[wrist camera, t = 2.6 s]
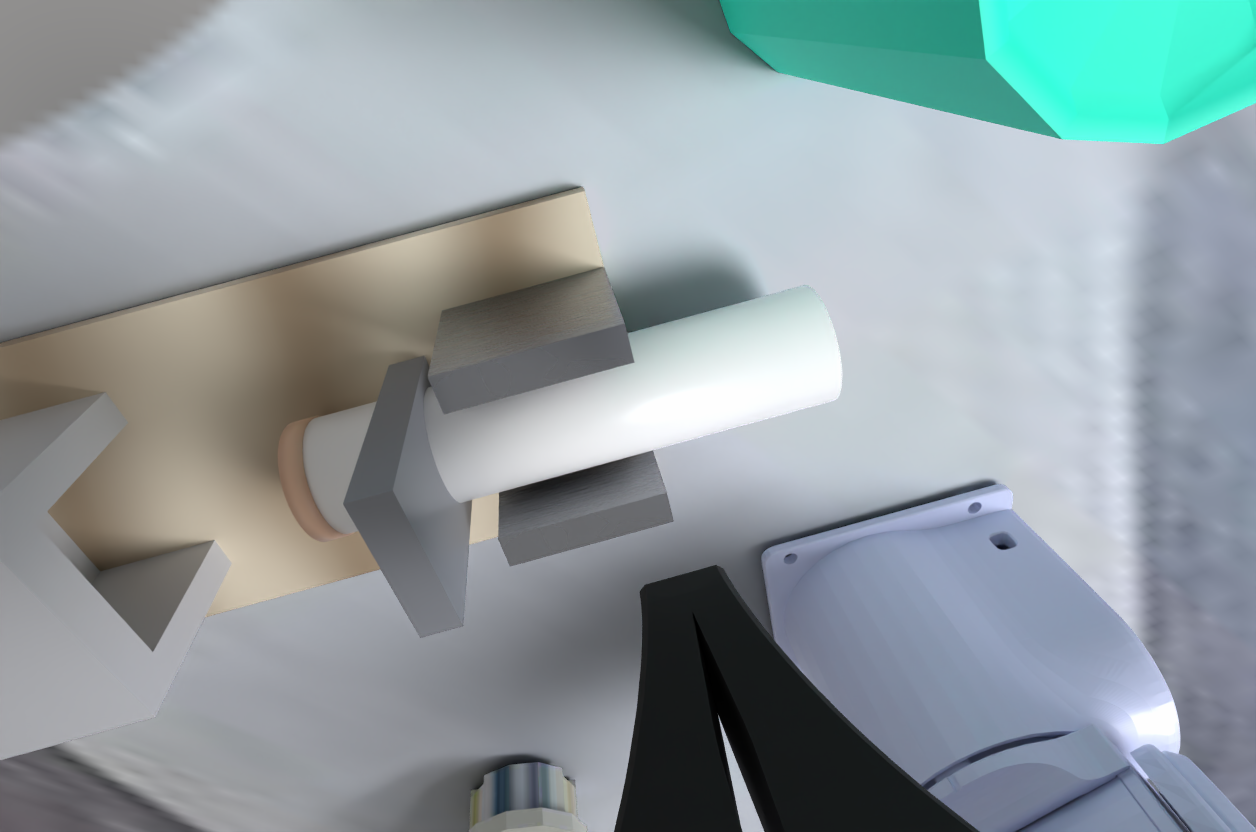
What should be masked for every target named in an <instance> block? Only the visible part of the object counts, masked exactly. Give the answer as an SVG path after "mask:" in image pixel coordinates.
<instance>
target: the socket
mask: <svg viewBox="0 0 1256 832" xmlns="http://www.w3.org/2000/svg"><path fill="white" fill-rule="evenodd" d="M127 424H128V422H127V420H126V419H125V418H124V416H123V415H122V414H121V412H120V411H119V410H118V408H117V407H116V405H115V404H114V403H113V401H112V400H111V399H110V397H109V396H108V395H107V393H106V392H103V393H100V394H96V395H92V396H89V397H85V398H81V399H77V400H74V401H70V402H66V403H63V404H59V405H55V406H51V407H48V408H44V409H40V410H37V411H33V412H29V413H26V414H22V415H18V416H14V417H11V418H7V419H3V420H0V760H3V759H6V758H10V757H14V756H17V755H21V754H25V753H28V752H32V751H35V750H39V749H43V748H46V747H50V746H53V745H57V744H61V743H64V742H68V741H72V740H75V739H79V738H82V737H86V736H90V735H93V734H97V733H101V732H104V731H108V730H111V729H115V728H119V727H122V726H126V725H129V724H133V723H137V722H140V721H144V720H148V719H151V718H155V717H156V715H157V713H158V711H159V709H160V707H161V705H162V703H163V701H164V699H165V697H166V695H167V693H168V691H169V689H170V687H171V685H172V683H173V681H174V679H175V677H176V675H177V673H178V671H179V669H180V667H181V665H182V663H183V661H184V659H185V657H186V655H187V653H188V651H189V649H190V647H191V644H192V642H193V640H194V638H195V636H196V634H197V632H198V630H199V628H200V626H201V624H202V622H203V620H204V618H205V616H206V614H207V612H208V610H209V608H210V606H211V604H212V602H213V600H214V598H215V596H216V594H217V592H218V590H219V588H220V586H221V584H222V582H223V580H224V578H225V576H226V574H227V572H228V570H229V568H230V566H231V564H232V563H231V561H230V560H229V559H228V557H227V556H226V555H225V553H224V552H223V551H222V549H221V548H220V546H219V545H218V544H217V542H216V541H215V540H213V541H210V542H206V543H202V544H199V545H195V546H191V547H188V548H184V549H180V550H177V551H173V552H169V553H166V554H162V555H158V556H155V557H151V558H147V559H144V560H140V561H136V562H133V563H129V564H125V565H122V566H118V567H114V568H111V569H107V570H103V571H99V570H98V568H97V567H96V566H95V565H94V564H93V563H92V562H91V561H90V559H89V558H88V557H87V556H86V555H85V554H84V553H83V552H82V550H81V549H80V548H79V547H78V546H77V545H76V544H75V543H74V541H73V540H72V539H71V538H70V537H69V536H68V535H67V534H66V532H65V531H64V530H63V529H62V528H61V527H60V526H59V524H58V523H57V522H56V521H55V520H54V519H53V518H52V517H51V515H50V514H49V513H48V512H47V511H48V510H49V509H50V508H51V507H52V506H53V505H54V503H55V502H56V501H57V500H58V499H59V498H60V497H61V496H62V495H63V494H64V493H65V491H66V490H67V489H68V488H69V487H70V486H71V485H72V484H73V483H74V482H75V480H76V479H77V478H78V477H79V476H80V475H81V474H82V473H83V472H84V471H85V470H86V468H87V467H88V466H89V465H90V464H91V463H92V462H93V461H94V460H95V459H96V458H97V456H98V455H99V454H100V453H101V452H102V451H103V450H104V449H105V448H106V447H107V445H108V444H109V443H110V442H111V441H112V440H113V439H114V438H115V437H116V436H117V435H118V433H119V432H120V431H121V430H122V429H123V428H124V427H125V426H126V425H127Z"/></svg>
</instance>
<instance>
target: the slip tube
mask: <svg viewBox="0 0 1256 832" xmlns="http://www.w3.org/2000/svg"><path fill="white" fill-rule="evenodd" d="M627 334H628V338H629V342H630V346H631V350H632V354H633V358H634V362H635V363H631V364H627V365H624V366H620V367H616V368H613V369H609V370H605V371H602V372H598V373H594V374H591V375H587V376H583V377H580V378H576V379H572V380H569V381H565V382H561V383H558V384H554V385H550V386H547V387H543V388H539V389H536V390H532V391H528V392H525V393H521V394H517V395H513V396H510V397H506V398H502V399H499V400H495V401H491V402H488V403H484V404H480V405H477V406H473V407H469V408H466V409H462V410H458V411H455V412H451V413H447V414H443V411H442V409H441V407H440V405H439V402H438V400H437V398H436V395H435V393H434V391H433V388H432V386H431V384H430V382H429V379H428V372H429V368H430V367H429V364H428V362H427V360H426V357H425V356H421V357H417V358H414V359H410V360H406V361H403V362H399V363H395V364H391V365H389V366H388V369H387V372H386V375H385V378H384V381H383V384H382V387H381V390H380V394H379V397H378V400H377V401H376V402H372V403H369V404H365V405H361V406H358V407H354V408H350V409H347V410H343V411H339V412H336V413H332V414H328V415H324V416H313V417H310V418H306V419H302V420H299V421H295V422H292V423H290V424H288V425H287V426H286V427H285V428H284V430H283V432H282V434H281V436H280V440H279V445H278V469H279V476H280V481H281V485H282V489H283V492H284V495H285V498H286V501H287V503H288V506H289V508H290V510H291V512H292V514H293V516H294V517H295V519H296V521H297V522H298V524H299V525H300V527H301V528H302V529H303V530H304V531H305V532H306V533H307V534H308V535H309V536H310V537H312V538H313V539H315V540H317V541H320V542H327V541H331V540H335V539H338V538H342V537H346V536H349V535H352V534H353V533H354V532H357V531H359V533H360V535H361V536H362V538H363V540H364V541H365V543H366V545H367V547H368V548H369V550H370V552H371V553H372V555H373V557H374V559H375V560H376V562H377V564H378V566H379V567H380V569H381V571H382V572H383V574H384V576H385V578H386V579H387V581H388V583H389V585H390V586H391V588H392V590H393V591H394V593H395V595H396V597H397V598H398V600H399V602H400V604H401V605H402V607H403V609H404V610H405V612H406V614H407V616H408V617H409V619H410V621H411V622H412V624H413V626H414V628H415V629H416V631H417V633H418V635H419V636H420V638H421V637H425V636H429V635H432V634H436V633H440V632H443V631H447V630H450V629H454V628H458V627H461V626H463V623H464V609H465V595H466V581H467V567H468V553H469V539H470V525H471V511H472V500H474V499H477V498H481V497H484V496H488V495H492V494H495V493H499V492H503V491H506V490H510V489H514V488H517V487H521V486H525V485H528V484H532V483H536V482H539V481H543V480H547V479H550V478H554V477H557V476H561V475H565V474H568V473H572V472H576V471H579V470H583V469H587V468H590V467H594V466H598V465H601V464H605V463H609V462H612V461H616V460H620V459H623V458H627V457H630V456H634V455H638V454H641V453H645V452H649V451H652V450H656V449H660V448H663V447H667V446H671V445H674V444H678V443H682V442H685V441H689V440H693V439H696V438H700V437H703V436H707V435H711V434H714V433H718V432H722V431H725V430H729V429H733V428H736V427H740V426H744V425H747V424H751V423H755V422H758V421H762V420H766V419H769V418H773V417H776V416H780V415H784V414H787V413H791V412H795V411H798V410H802V409H806V408H809V407H813V406H817V405H820V404H824V403H828V402H831V401H835V400H836V399H837V398H838V397H839V395H840V392H841V387H842V364H841V357H840V351H839V346H838V342H837V338H836V334H835V331H834V328H833V325H832V322H831V319H830V317H829V314H828V312H827V310H826V308H825V306H824V304H823V302H822V300H821V299H820V297H819V296H818V294H817V293H816V292H815V291H814V290H813V289H812V288H811V287H810V286H807V285H803V286H800V287H796V288H792V289H788V290H785V291H781V292H777V293H774V294H770V295H766V296H763V297H759V298H755V299H752V300H748V301H744V302H741V303H737V304H733V305H730V306H726V307H722V308H719V309H715V310H711V311H707V312H704V313H700V314H696V315H693V316H689V317H685V318H682V319H678V320H674V321H671V322H667V323H663V324H660V325H656V326H652V327H649V328H645V329H641V330H637V331H634V332H630V333H627Z"/></svg>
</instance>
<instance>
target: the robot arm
mask: <svg viewBox="0 0 1256 832" xmlns="http://www.w3.org/2000/svg"><path fill="white" fill-rule="evenodd" d="M1012 502H1013V493H1012V491H1011V490H1010V489H1009V488H1007V487H1006V486H1005V485H1003V484H996V485H992V486H989V487H985V488H982V489H978V490H974V491H971V492H967V493H964V494H960V495H956V496H953V497H949V498H945V499H942V500H938V501H935V502H931V503H927V504H924V505H920V506H917V507H913V508H909V509H906V510H902V511H898V512H895V513H891V514H888V515H884V516H880V517H877V518H873V519H870V520H866V521H862V522H859V523H855V524H851V525H848V526H844V527H841V528H837V529H833V530H830V531H826V532H823V533H819V534H815V535H812V536H808V537H804V538H801V539H797V540H794V541H790V542H786V543H783V544H779V545H775V546H772V547H770V548H768V549H767V550H765V551H764V553H763V554H762V557H761V561H762V567H763V574H764V580H765V586H766V592H767V598H768V605H769V611H770V617H771V623H772V629H773V636H774V640H773V638H772V637H771V636H770V635H769V633H768V632H767V631H766V630H765V629H764V627H763V626H762V625H761V623H760V622H759V621H758V619H757V618H756V617H755V616H754V614H753V613H752V612H751V610H750V609H749V608H748V606H747V605H746V604H745V602H744V601H743V599H742V598H741V597H740V595H739V594H738V592H737V591H736V589H735V588H734V586H733V584H732V583H731V581H730V580H729V578H728V576H727V574H726V573H725V571H724V569H723V568H721V567H719V566H717V565H714V566H711V567H707V568H704V569H700V570H696V571H693V572H689V573H686V574H682V575H679V576H675V577H671V578H668V579H664V580H661V581H657V582H654V583H650V584H646V585H644V587H643V588H642V589H641V590H640V598H641V606H642V658H641V671H640V682H639V692H638V703H637V711H636V718H635V725H634V731H633V738H632V744H631V751H630V757H629V763H628V769H627V774H626V779H625V784H624V789H623V794H622V799H621V804H620V808H619V812H618V817H617V821H616V826H615V830H614V832H742V829H741V825H740V820H739V815H738V810H737V806H736V801H735V796H734V791H733V786H732V781H731V776H730V771H729V766H728V761H727V757H726V752H725V747H724V742H723V737H722V732H721V727H720V722H719V718H720V720H721V723H722V725H723V728H724V731H725V733H726V736H727V738H728V741H729V743H730V746H731V748H732V751H733V753H734V756H735V758H736V761H737V763H738V766H739V768H740V771H741V773H742V776H743V778H744V781H745V784H746V786H747V789H748V791H749V794H750V796H751V799H752V801H753V804H754V806H755V809H756V811H757V814H758V816H759V819H760V821H761V824H762V826H763V829H764V831H765V832H1189V831H1190V832H1256V829H1255V828H1254V827H1253V826H1252V825H1251V824H1250V822H1249V821H1248V820H1247V819H1246V818H1245V817H1244V816H1243V815H1242V814H1241V813H1240V812H1239V810H1238V809H1237V808H1236V807H1235V806H1234V805H1233V804H1232V803H1231V802H1230V801H1229V800H1228V799H1227V797H1226V796H1225V795H1224V794H1223V793H1222V792H1221V791H1220V790H1219V789H1218V788H1217V787H1216V786H1215V785H1214V784H1213V783H1212V781H1211V780H1210V779H1209V778H1208V777H1207V776H1206V775H1205V774H1204V773H1203V772H1202V771H1201V770H1200V769H1199V768H1198V767H1197V766H1196V765H1195V764H1194V763H1193V762H1192V761H1191V760H1190V759H1189V758H1188V757H1186V756H1184V755H1180V754H1178V753H1179V749H1180V727H1179V720H1178V715H1177V710H1176V707H1175V704H1174V701H1173V698H1172V695H1171V693H1170V690H1169V688H1168V686H1167V684H1166V682H1165V680H1164V678H1163V676H1162V674H1161V672H1160V671H1159V669H1158V667H1157V665H1156V664H1155V662H1154V660H1153V659H1152V657H1151V655H1150V654H1149V652H1148V651H1147V649H1146V648H1145V646H1144V645H1143V644H1142V642H1141V641H1140V639H1139V638H1138V637H1137V636H1136V634H1135V633H1134V632H1133V631H1132V629H1131V628H1130V627H1129V626H1128V625H1127V624H1126V622H1125V621H1124V620H1123V619H1122V618H1121V617H1120V616H1119V615H1118V614H1117V613H1116V612H1115V611H1114V610H1113V609H1112V608H1111V607H1110V606H1109V605H1108V604H1107V603H1106V602H1105V601H1104V600H1103V599H1102V598H1101V597H1100V596H1099V595H1098V594H1097V593H1096V592H1095V591H1094V590H1093V589H1092V588H1091V587H1090V586H1089V585H1088V584H1087V583H1086V582H1085V581H1084V580H1083V579H1082V578H1081V577H1080V576H1079V575H1078V574H1077V573H1076V572H1075V571H1074V570H1073V569H1072V568H1071V567H1070V566H1069V565H1068V564H1067V563H1066V562H1065V561H1064V560H1063V559H1062V558H1061V557H1060V556H1059V555H1058V554H1057V553H1056V552H1055V551H1054V550H1053V549H1052V548H1051V547H1050V546H1049V545H1048V544H1047V543H1046V542H1045V541H1044V540H1043V539H1042V538H1041V537H1040V536H1038V535H1037V534H1036V533H1035V532H1034V531H1033V530H1032V529H1031V528H1030V527H1029V526H1028V525H1027V524H1026V523H1025V522H1024V521H1023V520H1022V519H1021V518H1020V517H1019V516H1018V515H1017V514H1016V513H1015V512H1014V511H1013V510H1012ZM971 504H972V505H971ZM970 505H971V506H970ZM791 553H792V554H791ZM788 554H791V555H790V556H788V557H785V556H786V555H788ZM718 715H719V717H718ZM1148 778H1150V779H1151V781H1152V782H1153V783H1154V784H1155V786H1156V787H1157V788H1158V789H1159V790H1160V791H1159V793H1160V795H1161V796H1162V797H1163V799H1164V800H1165V801H1166V802H1167V804H1168V805H1169V806H1170V807H1171V809H1172V810H1173V811H1174V812H1175V814H1176V815H1177V816H1178V817H1179V819H1180V820H1181V821H1182V822H1183V823H1184V825H1185V826H1186V827H1187V828H1188V829H1187V828H1186V827H1185V826H1184V825H1183V823H1182V822H1181V821H1180V820H1179V819H1178V817H1177V816H1176V815H1175V814H1174V812H1173V811H1172V810H1171V809H1170V808H1169V806H1168V805H1167V804H1166V803H1165V802H1164V800H1163V799H1162V798H1161V797H1160V796H1159V794H1158V793H1157V792H1156V791H1155V790H1154V788H1153V787H1152V786H1151V785H1150V784H1149V782H1148V781H1147V780H1146V779H1148ZM1188 830H1189V831H1188Z"/></svg>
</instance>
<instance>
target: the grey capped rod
mask: <svg viewBox="0 0 1256 832" xmlns="http://www.w3.org/2000/svg"><path fill="white" fill-rule="evenodd" d="M468 832H587V826H586V825H585V824H584V823H582V822H581V821H580V820H579V819H578V814H577V801H576V787H575V780H569V781H568V780H567V779H566V778H565V777H564V776H563V771H562V768H561V767H556V766H552V765H548V764H544V763H540V762H534V763H523V764H513V765H507V766H505V767H503V768H500V769H498V770H495V771H493V772H491V773H488V774H486V775H484V784H483V785H482V786H481V787H480V788H479V789H477V790H471V799H470V824H469V831H468Z"/></svg>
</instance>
